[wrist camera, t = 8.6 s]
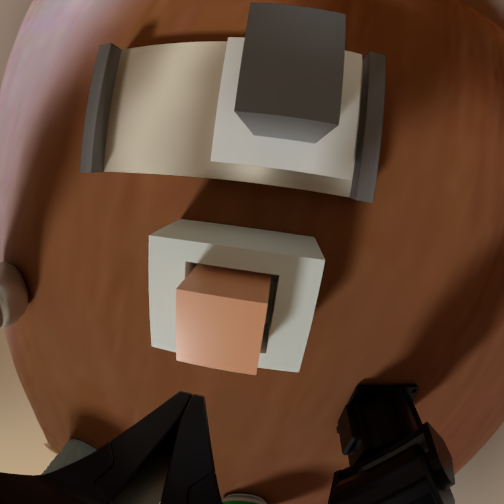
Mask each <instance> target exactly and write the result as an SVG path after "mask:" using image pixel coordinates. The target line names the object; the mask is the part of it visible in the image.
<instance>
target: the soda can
mask: <svg viewBox="0 0 504 504" xmlns="http://www.w3.org/2000/svg"><path fill="white" fill-rule="evenodd" d="M222 502H223V504H267V503H266V502H265V500H264V499H262V498H260V497H258V496H255V495H250V494H230V495H228V496H226V497H225V498H223V499H222Z"/></svg>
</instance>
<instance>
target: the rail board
mask: <svg viewBox="0 0 504 504" xmlns="http://www.w3.org/2000/svg"><path fill="white" fill-rule="evenodd" d="M226 46H227V41H210V42H184V43H170V44H160V45H151V46H143V47H136V48H129V49H123V50H122V49H120V48H118V47H117V46H115V45H114V44H112V43H109V44H105V45H100V46H99V50H98V54H97V58H96V62H95V67H94V71H93V76H92V80H91V86H90V91H89V96H88V102H87V109H86V115H85V123H84V131H83V140H82V150H81V163H80V172H88V173H92V172H129V173H149V174H165V175H179V176H191V177H203V178H213V179H223V180H233V181H242V182H250V183H258V184H266V185H274V186H281V187H288V188H295V189H301V190H308V191H314V192H320V193H326V194H332V195H338V196H344V197H349V198H352V199H354V200H357V201H363V202H368V203H373V197H374V191H375V185H376V178H377V171H378V163H379V155H380V146H381V137H382V126H383V114H384V100H385V78H386V55H383V54H380V53H376V52H373V51H369V52H368V54H367V55H366V56H365V58H364V59H362V70H361V88H360V102H359V113H358V124H357V134H356V143H355V151H354V160H353V167H352V174H351V180H345V179H339V178H333V177H327V176H322V175H316V174H309V173H303V172H296V171H290V170H283V169H275V168H267V167H259V166H251V165H242V164H232V163H222V162H213V161H211V152H212V143H213V135H214V127H215V119H216V112H217V104H218V97H219V90H220V84H221V77H222V71H223V64H224V58H225V52H226Z"/></svg>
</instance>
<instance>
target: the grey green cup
mask: <svg viewBox="0 0 504 504" xmlns="http://www.w3.org/2000/svg"><path fill="white" fill-rule="evenodd" d="M94 451H96V449H95V448H93V447H92V446H90V445H88V444H86V443H84V442H82V441H80V440H76V439H71V440H69V441H68V443H67V444H66V445H65V446H64V447H63V449H62V451H61V452H60V453H59V454H58V455H57V456H56V457H55V459H54V460H53V461H52V462H51V463H50V465H49V466H48V467H47V469H46V470H45V471H44V472H43V473H42V474H41V475H43V474H47V473H50V472H52V471H55V470H57V469H60V468H62V467H64V466H66V465H69V464H71V463H73V462H75V461H77V460H80V459H82V458H84V457H85V456H87V455H89V454H91V453H93V452H94Z"/></svg>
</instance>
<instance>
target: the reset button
mask: <svg viewBox="0 0 504 504" xmlns="http://www.w3.org/2000/svg"><path fill="white" fill-rule="evenodd" d="M270 281H271V274H267V273H260V272H253V271H246V270H239V269H232V268H226V267H219V266H213V265H206V264H200V263H198V264H197V265H196V266H195V268H194V269H193V270H192V271H191V272H190V273H189V274H188V276H187V277H186V278H185V279H184V280H183V281H182V283H181V284H180V285H179V286H178V287H177V288H176V357H177V361H181V362H186V363H191V364H195V365H200V366H205V367H210V368H215V369H221V370H226V371H232V372H238V373H244V374H251V375H256V373H257V367H258V361H259V355H260V349H261V343H262V337H263V331H264V325H265V319H266V313H267V306H268V299H269V290H270Z"/></svg>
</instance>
